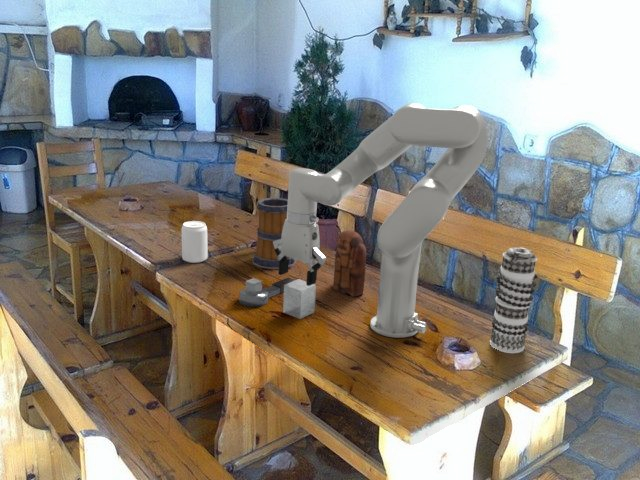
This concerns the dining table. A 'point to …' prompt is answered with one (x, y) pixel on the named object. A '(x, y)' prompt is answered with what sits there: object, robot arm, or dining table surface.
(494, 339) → the decorative candle
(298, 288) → the brushed metal cube
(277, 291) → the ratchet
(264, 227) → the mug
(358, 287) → the wooden figurine
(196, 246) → the beverage can
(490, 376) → the dining table surface
